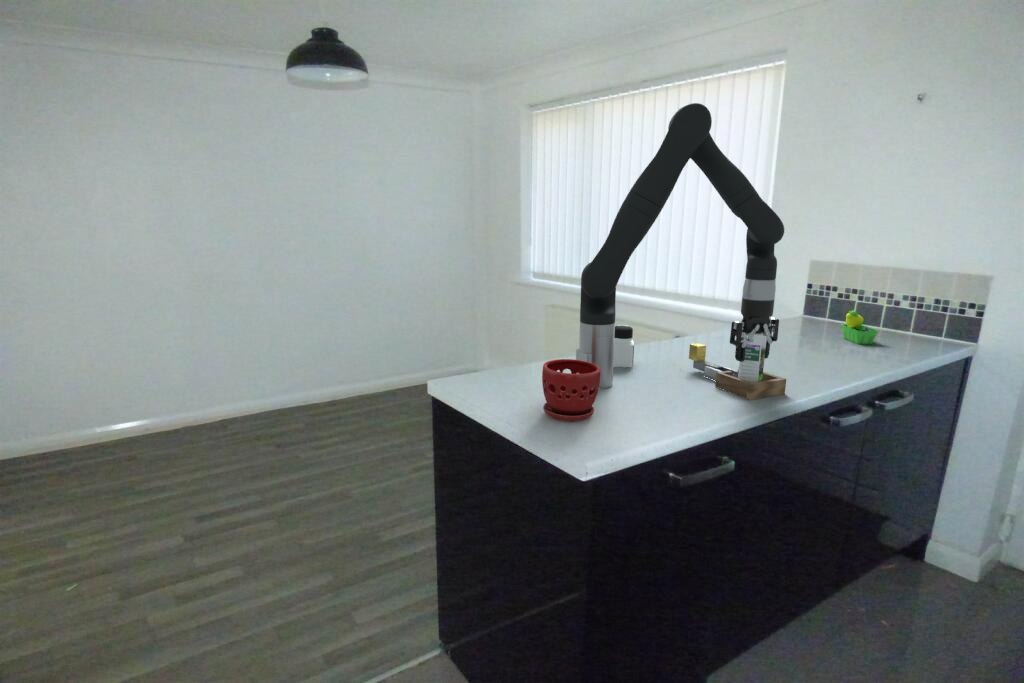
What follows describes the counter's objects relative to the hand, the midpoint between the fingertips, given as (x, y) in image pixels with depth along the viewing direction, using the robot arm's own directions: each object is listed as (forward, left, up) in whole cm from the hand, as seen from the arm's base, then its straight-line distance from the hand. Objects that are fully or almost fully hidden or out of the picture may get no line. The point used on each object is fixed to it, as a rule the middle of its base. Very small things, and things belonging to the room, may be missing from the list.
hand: (751, 359), depth 143 cm
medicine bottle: (-16, +35, -9) cm, 39 cm away
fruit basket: (+80, +27, -9) cm, 85 cm away
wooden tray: (0, 0, -8) cm, 8 cm away
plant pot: (-52, +3, -9) cm, 53 cm away
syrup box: (0, 0, -8) cm, 8 cm away
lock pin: (0, +16, -7) cm, 18 cm away
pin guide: (0, +10, -8) cm, 13 cm away
